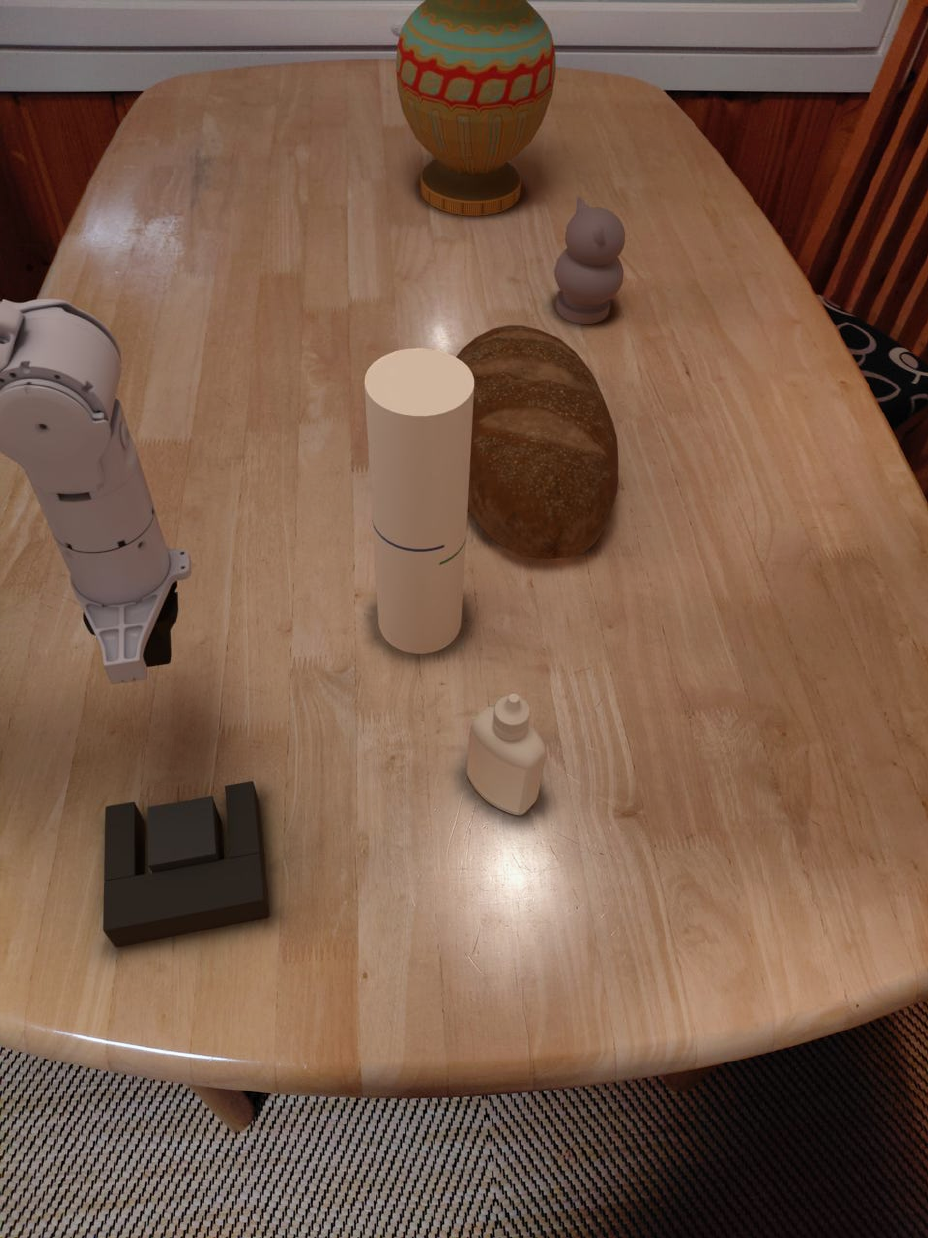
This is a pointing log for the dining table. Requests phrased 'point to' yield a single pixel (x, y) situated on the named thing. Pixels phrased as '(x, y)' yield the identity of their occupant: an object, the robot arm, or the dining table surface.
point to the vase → (474, 96)
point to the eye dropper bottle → (506, 755)
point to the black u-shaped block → (183, 877)
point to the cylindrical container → (419, 493)
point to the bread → (538, 444)
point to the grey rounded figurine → (589, 265)
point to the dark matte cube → (184, 834)
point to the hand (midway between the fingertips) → (155, 658)
